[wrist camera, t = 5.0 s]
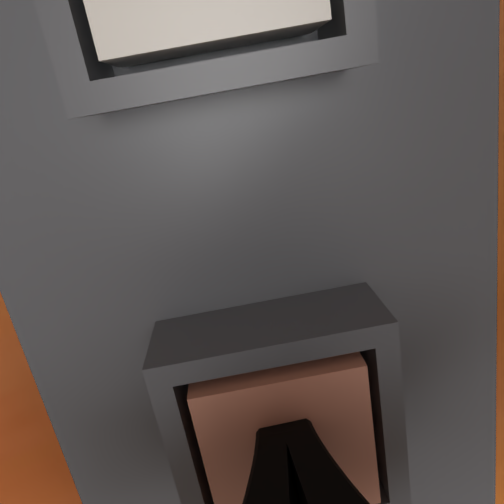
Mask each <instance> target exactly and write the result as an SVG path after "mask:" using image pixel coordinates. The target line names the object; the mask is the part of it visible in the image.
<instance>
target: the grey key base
mask: <svg viewBox="0 0 504 504" xmlns="http://www.w3.org/2000/svg"><path fill="white" fill-rule="evenodd" d="M330 7H331V17H332V19H331V20H330V21H328V22H327V23H326V24H324V25H323V26H321V27H320V28H318V29H317V30H315V31H314V32H312V33H311V34H305V35H300V36H294V37H289V38H283V39H278V40H272V41H267V42H261V43H255V44H250V45H244V46H239V47H233V48H228V49H222V50H216V51H211V52H205V53H200V54H194V55H189V56H183V57H178V58H172V59H166V60H161V61H155V62H150V63H144V64H139V65H133V66H128V67H122V68H120V67H116V66H113V65H110V64H107V63H103V62H100V61H99V60H98V56H97V52H96V48H95V44H94V41H93V37H92V33H91V29H90V25H89V21H88V18H87V14H86V10H85V6H84V2H83V0H0V292H1V294H2V297H3V300H4V302H5V305H6V307H7V310H8V312H9V315H10V318H11V320H12V323H13V325H14V328H15V331H16V333H17V336H18V338H19V341H20V343H21V346H22V349H23V351H24V354H25V356H26V359H27V362H28V364H29V367H30V369H31V372H32V374H33V377H34V380H35V382H36V385H37V387H38V390H39V392H40V395H41V398H42V400H43V403H44V405H45V408H46V411H47V413H48V416H49V418H50V421H51V423H52V426H53V429H54V431H55V434H56V436H57V439H58V441H59V444H60V447H61V449H62V452H63V454H64V457H65V460H66V462H67V465H68V467H69V470H70V472H71V475H72V478H73V480H74V483H75V485H76V488H77V490H78V493H79V496H80V498H81V501H82V503H83V504H214V502H213V498H212V494H211V490H210V486H209V482H208V479H207V475H206V471H205V467H204V463H203V459H202V456H201V452H200V448H199V444H198V440H197V437H196V433H195V429H194V425H193V421H192V417H191V414H190V410H189V406H188V402H187V394H188V385H189V384H190V383H195V382H201V381H206V380H211V379H216V378H222V377H227V376H232V375H238V374H243V373H248V372H253V371H259V370H264V369H269V368H275V367H280V366H285V365H290V364H296V363H301V362H306V361H312V360H317V359H322V358H327V357H333V356H338V355H343V354H349V353H354V352H360V354H361V356H362V357H363V359H364V361H365V363H366V365H367V369H368V379H369V389H370V398H371V408H372V418H373V428H374V438H375V448H376V458H377V468H378V478H379V488H380V498H381V503H378V504H495V461H496V345H497V228H498V111H499V0H330Z"/></svg>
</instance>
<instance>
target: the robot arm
mask: <svg viewBox="0 0 504 504" xmlns="http://www.w3.org/2000/svg"><path fill="white" fill-rule="evenodd" d="M242 504H370V503H369V502H368V501H367V500H366V499H365V497H364V496H363V495H362V494H361V493H360V492H359V491H358V489H357V488H356V487H355V486H354V485H353V483H352V482H351V481H350V480H349V478H348V477H347V476H346V474H345V473H344V472H343V471H342V469H341V468H340V467H339V465H338V464H337V463H336V461H335V460H334V459H333V457H332V456H331V454H330V453H329V452H328V450H327V449H326V447H325V446H324V444H323V442H322V441H321V439H320V438H319V436H318V434H317V432H316V431H315V429H314V427H313V425H312V423H311V421H310V420H308V419H306V418H305V419H301V420H296V421H292V422H287V423H282V424H278V425H273V426H268V427H263V428H259V429H258V431H257V432H256V441H255V449H254V456H253V461H252V466H251V471H250V475H249V479H248V484H247V488H246V492H245V496H244V499H243V503H242Z"/></svg>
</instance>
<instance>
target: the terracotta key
mask: <svg viewBox="0 0 504 504" xmlns="http://www.w3.org/2000/svg"><path fill="white" fill-rule="evenodd" d="M187 402H188V406H189V410H190V414H191V417H192V421H193V425H194V429H195V433H196V437H197V440H198V444H199V448H200V452H201V456H202V459H203V463H204V467H205V471H206V475H207V479H208V482H209V486H210V490H211V494H212V498H213V502H214V504H242V503H243V499H244V496H245V492H246V488H247V484H248V479H249V475H250V471H251V466H252V461H253V456H254V449H255V441H256V432H257V431H258V429H259V428H263V427H268V426H273V425H278V424H282V423H287V422H292V421H296V420H301V419H305V418H306V419H308V420H310V421H311V423H312V425H313V427H314V429H315V431H316V432H317V434H318V436H319V438H320V439H321V441H322V442H323V444H324V446H325V447H326V449H327V450H328V452H329V453H330V454H331V456H332V457H333V459H334V460H335V461H336V463H337V464H338V465H339V467H340V468H341V469H342V471H343V472H344V473H345V474H346V476H347V477H348V478H349V480H350V481H351V482H352V483H353V485H354V486H355V487H356V488H357V489H358V491H359V492H360V493H361V494H362V495H363V496H364V497H365V499H366V500H367V501H368V502H369V503H370V504H378V503H381V498H380V488H379V478H378V468H377V458H376V448H375V438H374V428H373V418H372V408H371V398H370V389H369V379H368V369H367V365H366V363H365V361H364V359H363V357H362V356H361V354H360V352H354V353H349V354H343V355H338V356H333V357H327V358H322V359H317V360H312V361H306V362H301V363H296V364H290V365H285V366H280V367H275V368H269V369H264V370H259V371H253V372H248V373H243V374H238V375H232V376H227V377H222V378H216V379H211V380H206V381H201V382H195V383H190V384H189V385H188V394H187Z"/></svg>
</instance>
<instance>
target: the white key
mask: <svg viewBox="0 0 504 504" xmlns="http://www.w3.org/2000/svg"><path fill="white" fill-rule="evenodd" d="M83 2H84V6H85V10H86V14H87V18H88V21H89V25H90V29H91V33H92V37H93V41H94V44H95V48H96V52H97V56H98V60H99V61H100V62H103V63H107V64H110V65H113V66H116V67H120V68H122V67H128V66H133V65H139V64H144V63H150V62H155V61H161V60H166V59H172V58H178V57H183V56H189V55H194V54H200V53H205V52H211V51H216V50H222V49H228V48H233V47H239V46H244V45H250V44H255V43H261V42H267V41H272V40H278V39H283V38H289V37H294V36H300V35H305V34H311V33H312V32H314V31H315V30H317V29H318V28H320V27H321V26H323V25H324V24H326V23H327V22H328V21H330V20H331V19H332V17H331V7H330V0H83Z"/></svg>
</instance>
